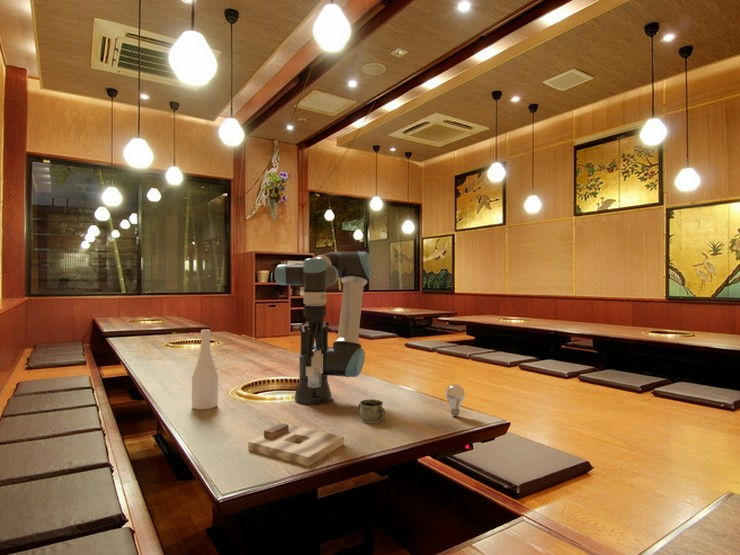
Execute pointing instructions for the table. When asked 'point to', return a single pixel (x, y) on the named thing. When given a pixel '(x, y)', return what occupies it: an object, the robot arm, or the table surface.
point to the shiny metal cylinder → (316, 370)
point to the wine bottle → (205, 377)
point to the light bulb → (455, 398)
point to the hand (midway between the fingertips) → (314, 374)
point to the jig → (282, 443)
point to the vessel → (371, 411)
